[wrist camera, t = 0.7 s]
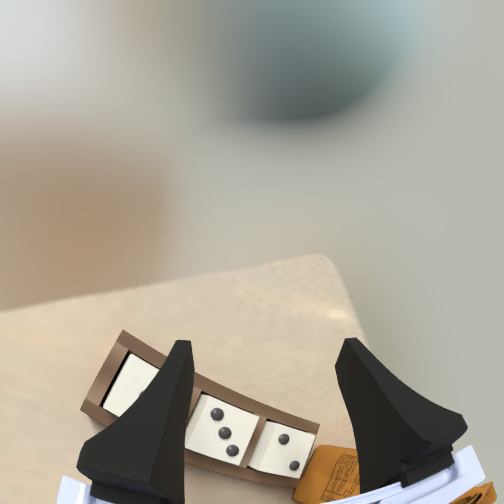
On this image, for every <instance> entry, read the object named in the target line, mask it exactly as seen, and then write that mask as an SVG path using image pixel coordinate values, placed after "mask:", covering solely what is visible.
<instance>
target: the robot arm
mask: <svg viewBox="0 0 504 504" xmlns="http://www.w3.org/2000/svg"><path fill="white" fill-rule="evenodd" d="M335 370H336V375H337V380H338V384H339V387H340V390H341V393H342V396H343V399H344V402H345V405H346V408H347V410H348V413H349V416H350V419H351V423H352V427H353V432H354V437H355V442H356V449H357V455H358V465H359V481H360V495H356V496H353V497H349V498H345V499H340V500H336V501H331V502H326V503H321V504H374V503H375V504H449V503H450V502H452V501H454V500H455V499H457V498H458V497H460V496H461V495H463V494H464V493H466V492H467V491H468V490H470V489H471V488H473V487H474V486H475V485H477V484H478V483H480V482H481V481H483V480H484V479H485V475H484V472H483V470H482V468H481V465H480V463H479V461H478V458H477V456H476V454H475V452H474V449H473V447H472V445H469V446H468V447H466V448H464V449H462V450H461V451H459V452H457V453H456V454H454V455H453V456H452V454H451V451H453V447H452V444H453V443H454V442H455V441H456V440H457V439H459V438H460V437H461V436H462V435H463V434H464V433H465V432H466V430H467V427H468V426H467V424H466V423H465V420H464V419H463V417H462V415H461V414H459V413H456V412H453V411H451V410H448V409H446V408H443V407H441V406H439V405H437V404H435V403H433V402H431V401H429V400H428V399H426V398H424V397H423V396H421V395H420V394H418V393H416V392H415V391H414V390H412V389H411V388H410V387H408V386H407V385H405V384H404V383H403V382H402V381H400V380H399V379H398V378H397V377H396V376H395V375H393V374H392V373H391V372H390V371H389V370H388V369H387V368H386V367H385V366H384V365H383V364H382V363H381V362H380V361H379V360H378V359H377V358H376V357H375V356H374V355H373V354H372V353H371V352H370V351H369V350H368V349H367V348H366V347H365V346H364V345H363V344H362V343H361V342H360V341H359V340H358V339H357V338H345V340H344V343H343V346H342V348H341V351H340V354H339V356H338V359H337V362H336V364H335ZM194 371H195V368H194V361H193V354H192V346H191V341H188V340H177V341H176V342H175V344H174V346H173V348H172V349H171V351H170V353H169V355H168V357H167V358H166V360H165V362H164V363H163V365H162V366H161V368H160V369H159V371H158V372H157V374H156V375H155V377H154V378H153V379H152V381H151V382H150V383H149V385H148V386H147V388H146V389H145V390H144V391H143V392H142V394H141V395H140V396H139V397H138V398H137V399H136V401H135V402H134V403H133V404H132V405H131V406H130V407H129V408H128V409H127V410H126V411H125V412H124V413H123V414H122V415H121V416H119V417H118V418H117V419H116V420H115V421H114V422H112V423H111V424H110V425H109V426H107V427H106V428H105V429H104V430H102V431H101V432H99V433H98V434H96V435H95V436H93V437H92V438H90V439H89V440H87V441H86V442H85V443H84V445H83V447H82V449H81V452H80V455H79V459H78V462H77V466H76V467H77V469H78V471H79V472H81V473H82V474H83V475H85V476H86V477H87V478H89V479H90V480H92V486H90V485H88V484H85V483H83V482H80V481H77V480H75V479H72V478H70V477H67V476H65V475H64V476H62V479H61V483H60V488H59V492H58V496H57V501H56V504H185V495H184V455H185V434H186V426H187V421H188V415H189V409H190V404H191V398H192V393H193V386H194Z"/></svg>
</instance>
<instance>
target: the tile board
mask: <svg viewBox="0 0 504 504" xmlns="http://www.w3.org/2000/svg"><path fill="white" fill-rule="evenodd" d="M126 353H129V354H133V355H135V356H136V357H138V358H140V359H141V360H143V361H145V362H146V363H148V364H150V365H151V366H153V367H155V368H157V369H158V370H159V369H160V368H161V366H162V365H163V363H164V362H165V360H166V358H167V356H165V355H163V354H162V353H160V352H158V351H157V350H155V349H153V348H152V347H150V346H148V345H147V344H145V343H143V342H142V341H140V340H139V339H137V338H135V337H134V336H132V335H131V334H129V333H128V332H126V331H125V330H122V332H121V334H120V335H119V337H118V339H117V341H116V342H115V344H114V346H113V348H112V349H111V351H110V353H109V355H108V357H107V358H106V360H105V362H104V364H103V366H102V368H101V369H100V371H99V373H98V375H97V377H96V379H95V381H94V383H93V385H92V386H91V388H90V390H89V392H88V394H87V396H86V398H85V400H84V402H83V404H82V406H81V408H80V410H81V411H82V412H84V413H86V414H87V415H89V416H90V417H92V418H94V419H95V420H97V421H99V422H101V423H102V424H104V425H106V426H109V425H110V424H111V423H112V422H114V421H115V420H116V419H117V418H118V416H117V415H115V414H113V413H111V412H110V411H108V410H106V409H104V408H103V405H104V404H102V403H101V401H102V399H103V397H104V395H105V393H106V391H107V389H108V387H109V385H110V383H111V381H112V379H113V377H114V375H115V373H116V372H117V370H118V368H119V366H120V364H121V362H122V360H123V359H124V357H125V355H126ZM200 393H202V394H204V395H208V396H211V397H213V398H215V399H218V400H220V401H222V402H224V403H227V404H229V405H231V406H234V407H236V408H238V409H241V410H243V411H246V412H248V413H251V414H253V415H256V416H259V419H258V422H257V424H256V427H255V429H254V432H253V434H252V436H251V439H250V441H249V444H248V446H247V448H246V451H245V453H244V455H243V457H242V460H241V462H240V464H239V465H235V464H232V463H228V462H225V461H222V460H219V459H216V458H212V457H209V456H207V455H204V454H201V453H198V452H195V451H193V450H190V449H187V448H185V455H184V462H187V463H190V464H193V465H196V466H199V467H202V468H205V469H208V470H211V471H215V472H218V473H222V474H225V475H229V476H233V477H237V478H241V479H245V480H250V481H255V482H259V483H265V484H270V485H276V486H282V487H289V488H296V487H297V485H298V482H299V480H300V478H294V477H288V476H283V475H277V474H272V473H268V472H263V471H259V470H256V469H254V468H252V467H250V466H248V462H249V460H250V458H251V456H252V453H253V451H254V448H255V446H256V444H257V441H258V439H259V436H260V434H261V432H262V429H263V427H264V424H265V422H266V421H269V422H273V423H278V424H281V425H284V426H287V427H290V428H293V429H296V430H299V431H303V432H306V433H309V434H313V435H315V438H316V435H317V432H318V429H319V426H320V424H317V423H314V422H311V421H308V420H305V419H302V418H300V417H297V416H294V415H291V414H288V413H286V412H283V411H280V410H278V409H275V408H273V407H270V406H268V405H265V404H263V403H260V402H258V401H255V400H253V399H251V398H248V397H246V396H244V395H242V394H239V393H237V392H235V391H233V390H231V389H228V388H226V387H224V386H222V385H220V384H218V383H216V382H214V381H212V380H210V379H208V378H206V377H204V376H202V375H200V374H198V373H196V372H194V386H193V393H192V398H191V404H190V409H189V415H188V419H189V417H190V415H191V413H192V410H193V408H194V406H195V404H196V402H197V400H198V397H199V395H200ZM315 438H314V441H315ZM314 441H313V444H314ZM313 444H312V446H313ZM311 449H312V447H311ZM311 449H310V452H311ZM310 452H309V455H310ZM309 455H308V457H309ZM308 457H307V460H308ZM307 460H306V462H307ZM305 465H306V463H305ZM305 465H304V468H305ZM304 468H303V470H304ZM303 470H302V473H303ZM302 473H301V475H302ZM301 475H300V477H301Z"/></svg>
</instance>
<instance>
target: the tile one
mask: <svg viewBox="0 0 504 504" xmlns="http://www.w3.org/2000/svg"><path fill="white" fill-rule="evenodd" d="M158 371H159V370H158V369H157V368H155V367H153V366H151V365H150V364H148V363H146V362H145V361H143V360H141V359H140V358H138V357H136V356H135V355H133V354H130V355H129V356H128V358H127V360H126V361H125V363H124V365H123V367H122V369H121V371H120V373H119V375H118V376H117V378H116V380H115V382H114V384H113V386H112V388H111V390H110V392H109V394H108V396H107V398H106V400H105V402H104V405H103V408H104V409H106V410H108V411H110V412H111V413H113V414H115V415H117V416H118V417H119V416H121V415H122V414H123V413H124V412H125V411H126V410H127V409H128V408H129V407H130V406H131V405H132V404H133V403H134V402H135V401H136V399H137V398H138V397H139V396H140V395H141V394H142V392H143V391H144V390H145V389H146V388H147V386H148V385H149V383H150V382H151V381H152V379H153V378H154V377H155V375H156V374H157V372H158Z"/></svg>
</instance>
